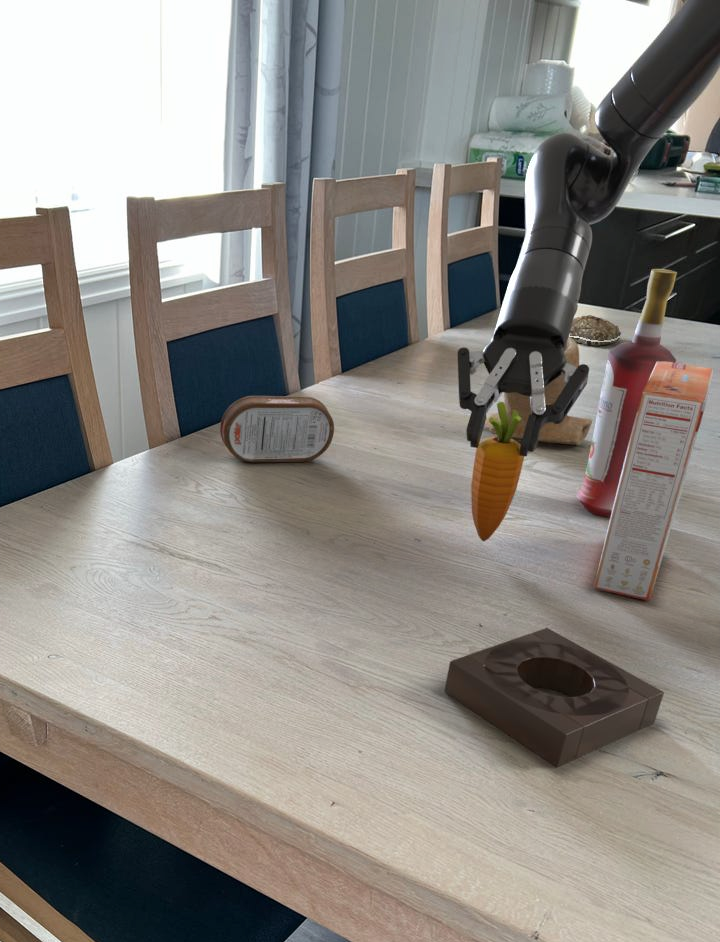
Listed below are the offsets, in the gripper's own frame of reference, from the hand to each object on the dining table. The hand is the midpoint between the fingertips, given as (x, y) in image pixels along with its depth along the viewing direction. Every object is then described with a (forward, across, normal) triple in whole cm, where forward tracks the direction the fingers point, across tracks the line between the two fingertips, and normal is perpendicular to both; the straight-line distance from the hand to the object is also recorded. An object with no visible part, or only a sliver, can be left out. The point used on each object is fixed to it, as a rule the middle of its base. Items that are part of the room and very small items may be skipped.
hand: (498, 447), depth 99 cm
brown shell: (-81, -1, +99) cm, 128 cm away
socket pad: (+28, +11, -10) cm, 32 cm away
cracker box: (+6, +15, +13) cm, 20 cm away
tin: (-4, -30, +21) cm, 37 cm away
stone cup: (-24, -1, +42) cm, 49 cm away
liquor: (-7, +11, +25) cm, 29 cm away
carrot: (+7, 0, +9) cm, 11 cm away
